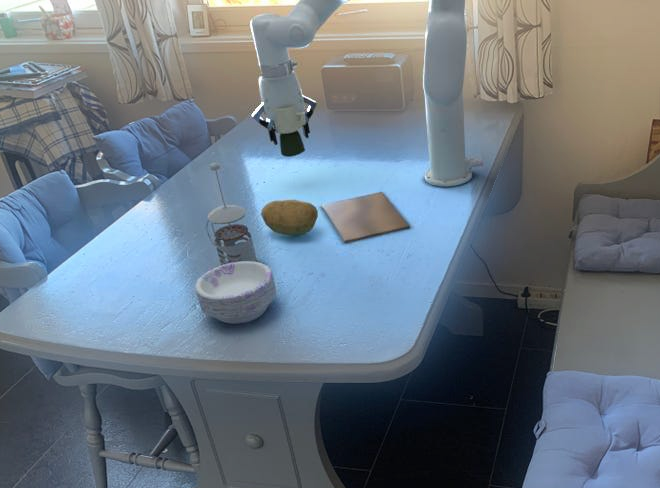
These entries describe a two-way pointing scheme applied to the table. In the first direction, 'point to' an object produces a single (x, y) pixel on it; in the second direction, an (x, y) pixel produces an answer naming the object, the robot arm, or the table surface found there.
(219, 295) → the paper bowls
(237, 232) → the french press
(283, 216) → the potato
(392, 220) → the placemat
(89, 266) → the table surface
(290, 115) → the character mug
